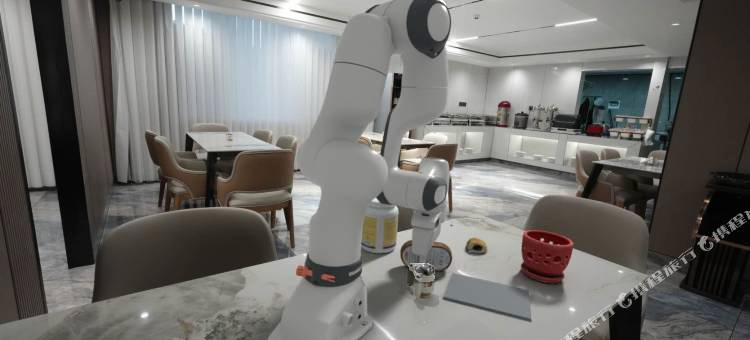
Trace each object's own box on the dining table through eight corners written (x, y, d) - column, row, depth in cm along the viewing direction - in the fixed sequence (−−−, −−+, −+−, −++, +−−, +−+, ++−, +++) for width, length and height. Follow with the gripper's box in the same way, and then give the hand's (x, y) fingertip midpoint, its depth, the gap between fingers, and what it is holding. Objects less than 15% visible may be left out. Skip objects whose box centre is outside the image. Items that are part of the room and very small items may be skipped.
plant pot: (571, 290, 93) (579, 249, 90) (519, 280, 97) (525, 240, 94) (562, 270, 105) (568, 233, 103) (516, 261, 109) (521, 225, 107)
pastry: (465, 242, 123) (466, 232, 123) (485, 244, 122) (486, 234, 121) (466, 252, 114) (468, 241, 114) (487, 255, 113) (489, 244, 112)
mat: (531, 320, 78) (531, 318, 78) (443, 298, 85) (443, 296, 85) (528, 291, 91) (529, 290, 91) (452, 274, 98) (452, 272, 98)
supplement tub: (392, 240, 121) (396, 193, 118) (399, 254, 109) (403, 203, 106) (358, 239, 119) (360, 192, 116) (360, 254, 107) (363, 202, 104)
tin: (450, 269, 101) (453, 242, 100) (451, 274, 98) (454, 246, 97) (399, 264, 102) (401, 237, 101) (399, 269, 99) (401, 241, 98)
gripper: (427, 202, 108) (424, 244, 110) (409, 221, 89) (405, 270, 92) (447, 206, 106) (443, 248, 108) (433, 225, 87) (428, 276, 89)
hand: (425, 258), depth 100 cm, fingers open, 5 cm apart
